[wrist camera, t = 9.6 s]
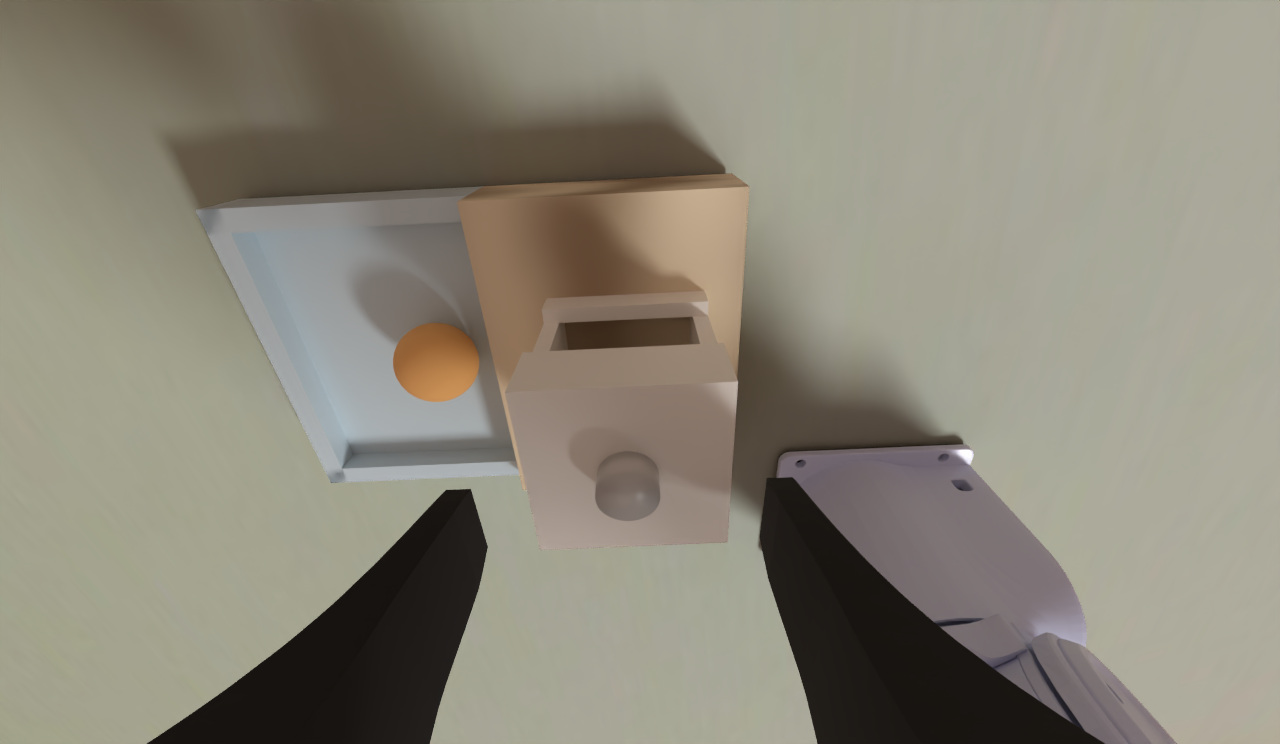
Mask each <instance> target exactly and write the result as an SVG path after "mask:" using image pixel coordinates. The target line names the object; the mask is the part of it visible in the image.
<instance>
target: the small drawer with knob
mask: <svg viewBox="0 0 1280 744" xmlns="http://www.w3.org/2000/svg"><path fill="white" fill-rule="evenodd" d="M542 316H543V322H544V324H543V327H542V329H541V332H540V334H539V337H538V339H537V342H536V344H535V347H534V349H533V352H522V355H521V357H520V359H519V362H518V364H517V366H516V368H515V371H514V373H513V375H512V377H511V380H510V382H509V384H508V386H507V389H506V391H505V395H506V399H507V404H508V408H509V413H510V417H511V422H512V426H513V431H514V435H515V440H516V444H517V448H518V453H519V457H520V462H521V466H522V471H523V475H524V480H525V484H526V489H527V493H528V497H529V502H530V506H531V511H532V515H533V520H534V524H535V529H536V533H537V538H538V542H539V547H540V550H554V549H579V548H603V547H628V546H652V545H677V544H701V543H725V542H728V527H729V512H730V497H731V482H732V466H733V451H734V436H735V421H736V406H737V391H738V380H737V377H736V375H735V372H734V369H733V366H732V364H731V361H730V358H729V356H728V353H727V350H726V348H725V345H724V343H717V340H716V337H715V334H714V332H713V329H712V326H711V323H710V320H709V317H708V299H707V296H706V293H705V291H687V292H666V293H646V294H625V295H604V296H584V297H563V298H546V301H545V303H544V305H543V307H542ZM674 317H690V341H689V345H670V346H648V347H627V348H606V349H584V350H568V344H567V337H566V330H565V323H569V322H590V321H611V320H632V319H653V318H674Z"/></svg>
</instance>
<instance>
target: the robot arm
mask: <svg viewBox="0 0 1280 744" xmlns="http://www.w3.org/2000/svg"><path fill="white" fill-rule="evenodd" d="M941 454H943V455H941ZM940 455H941V456H940ZM973 456H974V452H973V450H972V449H971V448H970V447H969V446H967V445H964V444H959V445H936V446H913V447H890V448H867V449H844V450H821V451H798V452H786V453H784V454H782V455H781V456H780V458H779V460H778V468H777V476H776V478H767V483H766V491H765V499H764V507H763V515H762V523H761V531H760V541H761V546H762V551H763V556H764V561H765V565H766V570H767V574H768V579H769V582H770V585H771V588H772V591H773V594H774V597H775V600H776V603H777V607H778V610H779V613H780V616H781V619H782V622H783V625H784V628H785V631H786V634H787V637H788V640H789V643H790V646H791V649H792V652H793V655H794V658H795V661H796V664H797V667H798V670H799V673H800V676H801V680H802V683H803V686H804V690H805V693H806V697H807V701H808V705H809V709H810V714H811V718H812V722H813V726H814V730H815V735H816V739H817V743H818V744H1177V743H1176V742H1175V741H1174V740H1173V738H1172V737H1171V736H1170V735H1169V734H1168V733H1167V732H1166V730H1165V729H1164V728H1163V727H1162V726H1161V725H1160V724H1159V723H1158V721H1157V720H1156V719H1155V718H1154V717H1153V716H1152V715H1151V714H1150V713H1149V711H1148V710H1147V709H1146V708H1145V707H1144V706H1143V705H1142V704H1141V703H1140V702H1139V700H1138V699H1137V698H1136V697H1135V696H1134V695H1133V694H1132V693H1131V692H1130V691H1129V690H1128V689H1127V688H1126V686H1125V685H1124V684H1123V683H1122V682H1121V681H1120V680H1119V679H1118V678H1117V677H1116V676H1115V675H1114V674H1113V673H1112V672H1111V671H1110V670H1109V669H1108V668H1107V667H1106V666H1105V665H1104V664H1103V663H1102V662H1101V661H1100V660H1099V659H1098V658H1097V657H1096V656H1095V655H1094V654H1092V653H1091V652H1090V651H1089V650H1088V649H1087V648H1086V639H1087V631H1086V623H1085V618H1084V614H1083V611H1082V608H1081V605H1080V602H1079V600H1078V597H1077V595H1076V593H1075V590H1074V588H1073V586H1072V584H1071V582H1070V581H1069V579H1068V577H1067V575H1066V573H1065V572H1064V570H1063V569H1062V568H1061V566H1060V565H1059V563H1058V562H1057V561H1056V559H1055V558H1054V557H1053V556H1052V555H1051V553H1050V552H1049V551H1048V550H1047V549H1046V548H1045V547H1044V546H1043V545H1042V544H1041V542H1040V541H1039V540H1038V539H1037V538H1036V537H1035V536H1034V535H1033V534H1032V533H1031V532H1030V530H1029V529H1028V528H1027V527H1026V526H1025V525H1024V524H1023V523H1022V522H1021V521H1020V520H1019V518H1018V517H1017V516H1016V515H1015V514H1014V513H1013V512H1012V511H1011V510H1010V509H1009V508H1008V507H1007V505H1006V504H1005V503H1004V502H1003V501H1002V500H1001V499H1000V498H999V497H998V496H997V495H996V493H995V492H994V491H993V490H992V489H991V488H990V487H989V486H988V485H987V484H986V483H985V482H984V480H983V479H982V478H981V477H980V476H979V475H978V474H977V473H976V472H975V471H974V470H973V468H972V467H971V466H970V463H971V461H972V458H973ZM798 460H803V461H801V462H799V463H796V462H797V461H798ZM487 548H488V546H487V543H486V539H485V536H484V533H483V529H482V526H481V522H480V519H479V516H478V512H477V509H476V505H475V502H474V499H473V495H472V492H471V489H462V490H446V491H445V492H444V493H443V494H442V495H441V496H440V497H439V498H438V499H437V500H436V501H435V502H434V503H433V504H432V505H431V506H430V507H429V508H428V509H427V510H426V511H425V513H424V514H423V515H422V516H421V517H420V518H419V519H418V520H417V521H416V522H415V523H414V524H413V525H412V526H411V527H410V529H409V530H408V531H407V532H406V533H405V534H404V535H403V536H402V537H401V538H400V539H399V540H398V541H397V542H396V543H395V544H394V545H393V546H392V547H391V548H390V549H389V550H388V551H387V552H386V553H385V554H384V555H383V556H382V558H381V559H380V560H379V561H378V562H377V563H376V564H375V565H374V566H373V567H372V568H371V569H370V570H369V571H367V572H366V573H365V574H364V575H363V576H362V577H361V578H360V579H359V580H358V581H357V582H356V583H355V584H354V585H353V586H352V587H351V588H350V589H349V590H348V591H347V592H345V593H344V594H343V595H342V596H341V597H340V598H339V599H338V600H337V601H336V602H335V603H334V604H332V605H331V606H330V607H329V608H328V609H327V610H326V611H325V612H323V613H322V614H321V615H320V616H319V617H318V618H317V619H315V620H314V621H313V622H312V623H311V624H309V625H308V626H307V627H306V628H305V629H303V630H302V631H301V632H300V633H299V634H297V635H296V636H295V637H294V638H293V639H291V640H290V641H289V642H288V643H286V644H285V645H284V646H283V647H281V648H280V649H279V650H278V651H276V652H275V653H274V654H272V655H271V656H270V657H268V658H267V659H266V660H264V661H263V662H262V663H260V664H259V665H258V666H257V667H255V668H254V669H253V670H251V671H250V672H249V673H247V674H246V675H245V676H243V677H242V678H241V679H239V680H238V681H237V682H235V683H234V684H233V685H231V686H230V687H229V688H227V689H226V690H225V691H223V692H222V693H220V694H219V695H218V696H216V697H215V698H213V699H212V700H211V701H209V702H208V703H206V704H205V705H203V706H202V707H201V708H199V709H198V710H196V711H195V712H193V713H192V714H191V715H189V716H188V717H186V718H185V719H183V720H182V721H180V722H179V723H177V724H176V725H174V726H173V727H171V728H170V729H168V730H167V731H165V732H164V733H162V734H161V735H159V736H158V737H156V738H155V739H153V740H152V741H150V742H149V743H147V744H430V740H431V736H432V732H433V728H434V724H435V720H436V716H437V712H438V708H439V705H440V701H441V698H442V695H443V692H444V688H445V685H446V682H447V679H448V676H449V674H450V671H451V668H452V665H453V662H454V659H455V656H456V653H457V651H458V648H459V645H460V642H461V639H462V636H463V633H464V630H465V628H466V625H467V622H468V619H469V616H470V613H471V610H472V607H473V604H474V601H475V598H476V595H477V592H478V589H479V585H480V581H481V576H482V572H483V567H484V562H485V558H486V553H487Z"/></svg>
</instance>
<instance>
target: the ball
mask: <svg viewBox="0 0 1280 744" xmlns="http://www.w3.org/2000/svg"><path fill="white" fill-rule="evenodd" d="M393 368H394V372H395V375H396V378H397V380H398V381H399V383H400V384H401V386H402V387H403V388H404V389H405V390H406V391H407V392H408V393H410V394H411V395H413V396H415V397H416V398H419V399H421V400H425V401H430V402H443V401H448V400H451V399H454V398H456V397H458V396H460V395H462V394H463V393H464V392H466V391H467V390H468V389H469V388H470V387H471V385H472V384H473V382H474V381H475V379H476V376H477V374H478V370H479V355H478V352H477V349H476V347H475V345H474V343H473V341H472V340H471V339H470V338H469V337H468V335H467V334H465V333H464V332H463V331H461V330H460V329H458V328H456V327H454V326H451V325H448V324H444V323H427V324H423V325H420V326H417V327H415V328H413V329H412V330H410V331H409V332H408V333H406V334H405V335H404V336H403V337H402V338H401V340H400V341H399V343H398V344H397V346H396V349H395V352H394V356H393Z"/></svg>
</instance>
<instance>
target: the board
mask: <svg viewBox="0 0 1280 744" xmlns="http://www.w3.org/2000/svg"><path fill="white" fill-rule="evenodd" d="M748 201H749V186H748V185H747V184H745V183H744V182H743V181H741V180H740V179H739V178H737V177H736V176H735V175H733V174H732V173H731V174H711V175H692V176H673V177H654V178H634V179H615V180H596V181H576V182H557V183H538V184H518V185H499V186H483V187H482V188H480V189H478V190H476V191H475V192H473V193H471V194H469V195H468V196H466V197H464V198H462V199H461V200H459V201H457V205H458V209H459V213H460V218H461V222H462V226H463V231H464V235H465V240H466V244H467V248H468V253H469V257H470V261H471V266H472V270H473V274H474V279H475V283H476V287H477V292H478V296H479V301H480V305H481V309H482V314H483V318H484V322H485V327H486V331H487V335H488V340H489V344H490V348H491V353H492V357H493V361H494V366H495V370H496V375H497V379H498V383H499V388H500V392H501V396H502V401H503V405H504V409H505V414H506V418H507V422H508V427H509V431H510V435H511V440H512V444H513V449H514V453H515V457H516V462H517V466H518V470H519V475H520V479H521V483H522V488H523V490H527V489H526V484H525V480H524V475H523V471H522V466H521V462H520V457H519V453H518V448H517V444H516V440H515V435H514V431H513V426H512V422H511V417H510V413H509V408H508V404H507V399H506V395H505V391H506V389H507V386H508V384H509V382H510V380H511V377H512V375H513V373H514V371H515V368H516V366H517V364H518V362H519V359H520V357H521V355H522V352H533V349H534V347H535V344H536V342H537V339H538V337H539V334H540V332H541V329H542V327H543V324H544V322H543V316H542V307H543V305H544V303H545V301H546V298H563V297H584V296H604V295H625V294H646V293H666V292H687V291H705V293H706V296H707V299H708V317H709V320H710V323H711V326H712V329H713V332H714V334H715V337H716V340H717V343H724V345H725V348H726V350H727V353H728V356H729V358H730V361H731V364H732V366H733V369H734V372H735V375H736V377H737V372H738V356H739V341H740V325H741V310H742V294H743V279H744V263H745V248H746V232H747V217H748ZM565 330H566V337H567V344H568V350H584V349H606V348H627V347H648V346H670V345H689V341H690V317H674V318H653V319H632V320H611V321H590V322H569V323H565Z"/></svg>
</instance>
